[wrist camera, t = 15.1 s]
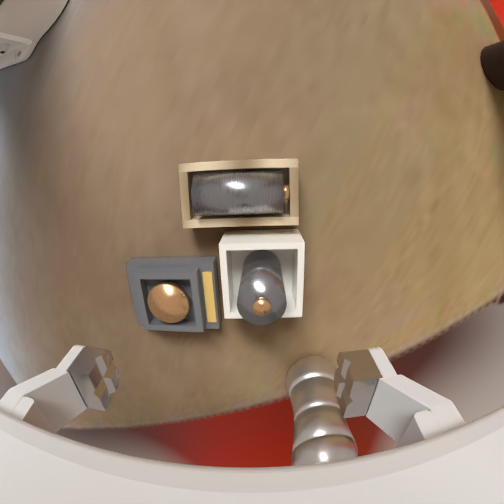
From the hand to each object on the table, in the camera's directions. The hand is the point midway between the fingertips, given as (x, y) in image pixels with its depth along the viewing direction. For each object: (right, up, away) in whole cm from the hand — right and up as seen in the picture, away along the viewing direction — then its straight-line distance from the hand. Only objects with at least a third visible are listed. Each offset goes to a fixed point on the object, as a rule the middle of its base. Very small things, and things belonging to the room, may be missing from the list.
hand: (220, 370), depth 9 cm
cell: (+2, +2, +21) cm, 22 cm away
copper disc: (-8, -1, +21) cm, 22 cm away
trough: (0, +10, +20) cm, 22 cm away
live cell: (0, +10, +20) cm, 22 cm away
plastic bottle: (+9, -11, +27) cm, 30 cm away
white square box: (+2, +3, +22) cm, 23 cm away
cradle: (-8, 0, +24) cm, 25 cm away
